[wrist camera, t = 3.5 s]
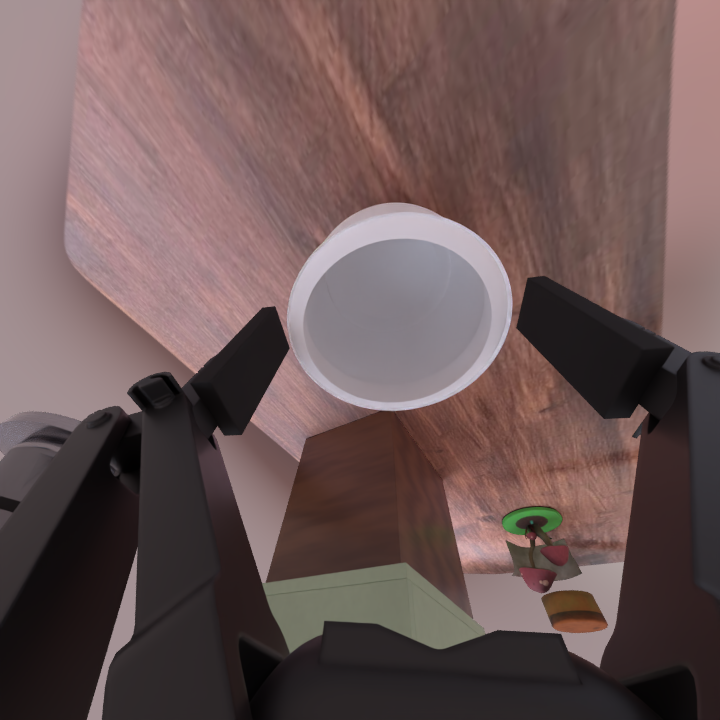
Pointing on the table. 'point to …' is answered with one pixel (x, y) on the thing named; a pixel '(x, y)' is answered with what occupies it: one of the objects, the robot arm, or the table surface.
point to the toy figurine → (551, 571)
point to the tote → (369, 605)
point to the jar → (399, 308)
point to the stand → (368, 509)
